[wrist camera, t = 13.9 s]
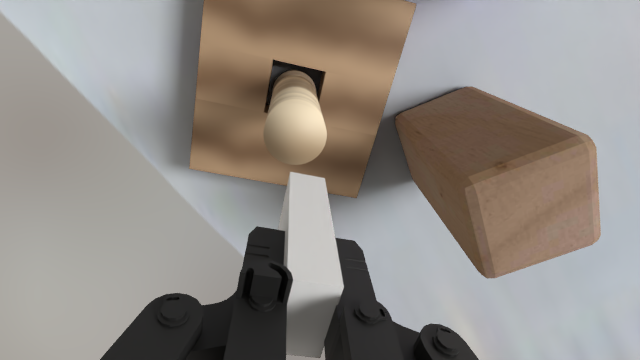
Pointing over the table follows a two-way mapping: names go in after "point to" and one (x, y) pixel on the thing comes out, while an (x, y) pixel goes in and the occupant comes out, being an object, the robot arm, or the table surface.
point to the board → (304, 50)
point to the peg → (294, 120)
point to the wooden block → (503, 179)
